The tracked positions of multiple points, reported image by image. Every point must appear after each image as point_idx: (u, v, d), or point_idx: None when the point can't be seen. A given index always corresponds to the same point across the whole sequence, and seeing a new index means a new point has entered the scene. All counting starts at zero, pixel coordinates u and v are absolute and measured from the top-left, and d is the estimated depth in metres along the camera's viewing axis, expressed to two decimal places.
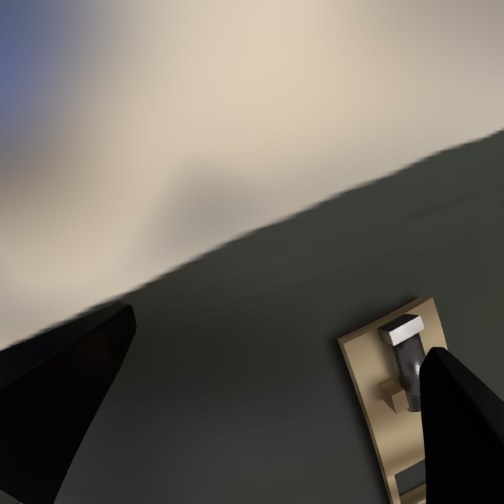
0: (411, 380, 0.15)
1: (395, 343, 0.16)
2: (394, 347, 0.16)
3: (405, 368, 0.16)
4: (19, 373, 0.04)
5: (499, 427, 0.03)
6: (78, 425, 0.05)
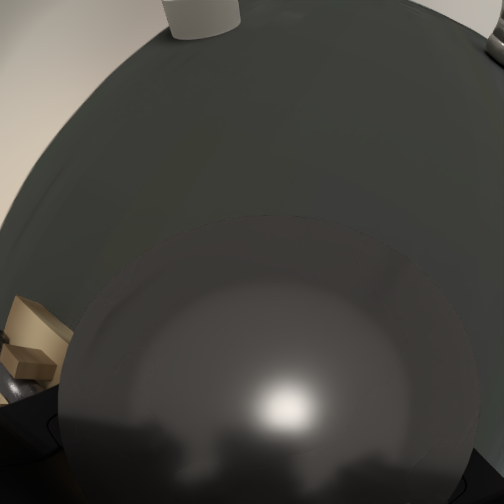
0: (0, 391, 0.09)
1: None
2: None
3: None
4: None
5: None
6: None
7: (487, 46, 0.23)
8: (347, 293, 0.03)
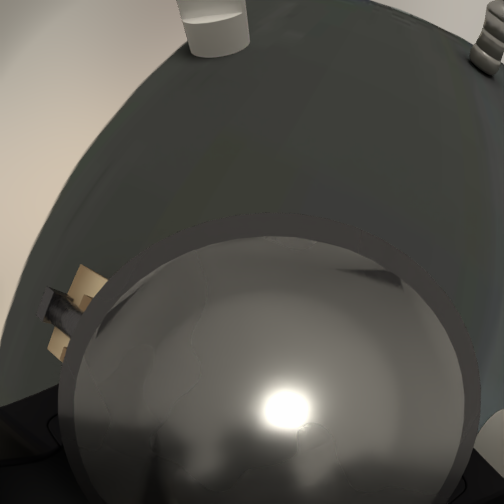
0: None
1: (42, 319, 0.16)
2: (51, 322, 0.16)
3: (63, 330, 0.16)
4: None
5: None
6: None
7: (470, 55, 0.29)
8: (347, 290, 0.03)
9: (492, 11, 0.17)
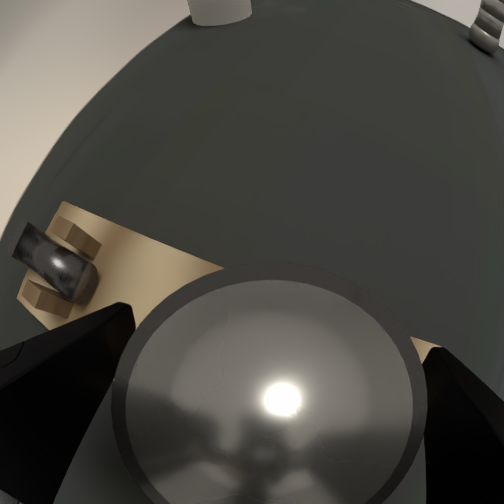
0: (39, 268, 0.12)
1: (11, 253, 0.13)
2: (21, 259, 0.13)
3: (31, 263, 0.13)
4: (19, 373, 0.04)
5: (499, 427, 0.03)
6: (77, 425, 0.05)
7: (469, 34, 0.27)
8: (323, 318, 0.04)
9: None
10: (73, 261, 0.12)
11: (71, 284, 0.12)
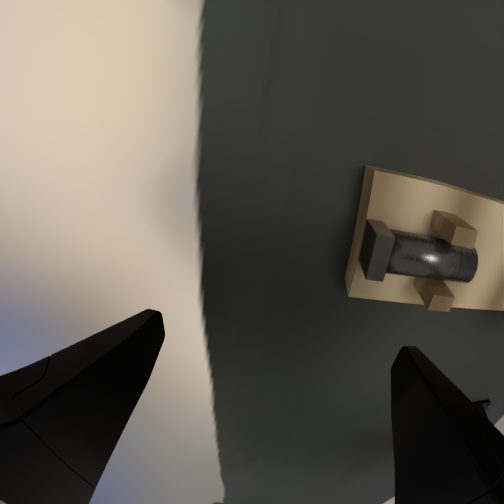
0: (434, 276, 0.13)
1: (382, 279, 0.13)
2: (387, 272, 0.14)
3: (417, 275, 0.13)
4: (49, 393, 0.04)
5: (469, 435, 0.03)
6: (108, 440, 0.05)
7: None
8: None
9: None
10: (471, 257, 0.12)
11: (471, 274, 0.13)
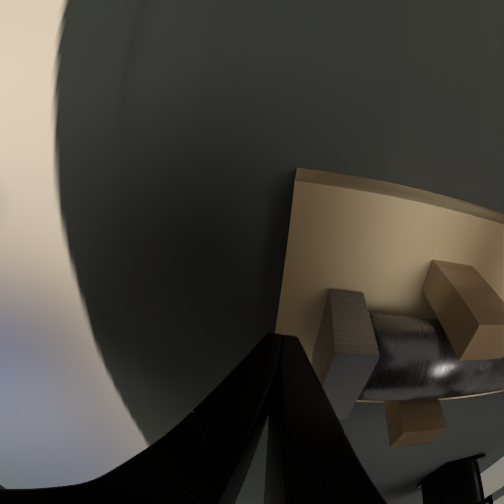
0: (448, 397, 0.06)
1: (343, 416, 0.06)
2: None
3: (416, 399, 0.06)
4: (228, 464, 0.03)
5: (307, 446, 0.04)
6: (241, 483, 0.05)
7: None
8: None
9: None
10: None
11: None
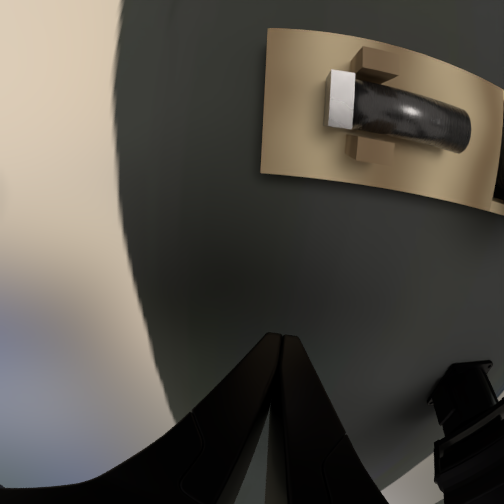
0: (419, 130, 0.10)
1: (349, 125, 0.10)
2: (357, 125, 0.11)
3: (396, 127, 0.10)
4: (226, 464, 0.03)
5: (308, 446, 0.04)
6: (240, 483, 0.05)
7: None
8: None
9: None
10: (460, 113, 0.09)
11: (467, 138, 0.09)
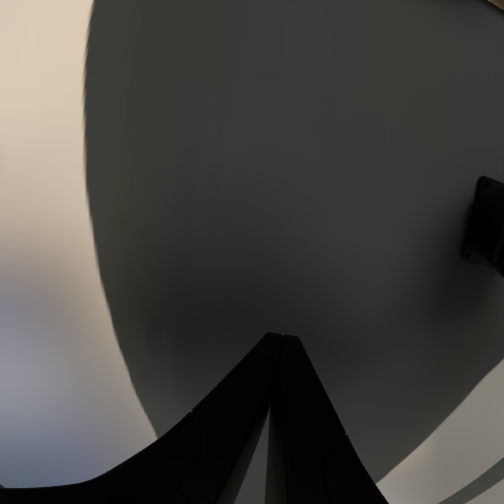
0: None
1: None
2: None
3: None
4: (226, 464, 0.03)
5: (308, 446, 0.04)
6: (241, 483, 0.05)
7: None
8: None
9: None
10: None
11: None
